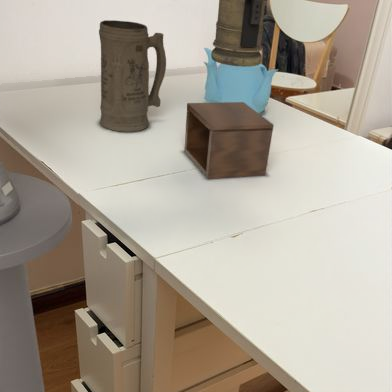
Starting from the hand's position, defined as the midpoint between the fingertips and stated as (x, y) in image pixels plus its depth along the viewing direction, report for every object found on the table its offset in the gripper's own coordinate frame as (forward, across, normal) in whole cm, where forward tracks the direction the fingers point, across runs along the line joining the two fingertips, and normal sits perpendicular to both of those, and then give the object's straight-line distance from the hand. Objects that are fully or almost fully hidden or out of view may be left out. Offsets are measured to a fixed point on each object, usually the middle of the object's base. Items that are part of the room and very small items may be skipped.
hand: (238, 40), depth 92 cm
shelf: (+22, 0, 0) cm, 22 cm away
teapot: (+22, +34, -16) cm, 43 cm away
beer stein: (+22, +26, +12) cm, 36 cm away
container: (+3, 0, 0) cm, 3 cm away
